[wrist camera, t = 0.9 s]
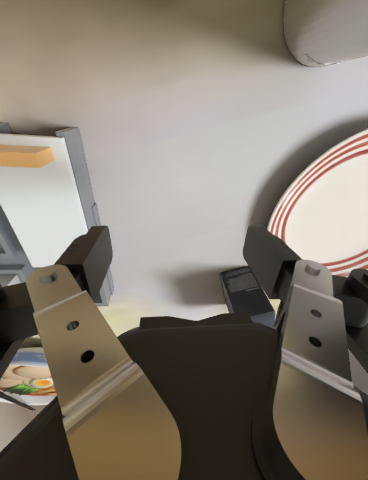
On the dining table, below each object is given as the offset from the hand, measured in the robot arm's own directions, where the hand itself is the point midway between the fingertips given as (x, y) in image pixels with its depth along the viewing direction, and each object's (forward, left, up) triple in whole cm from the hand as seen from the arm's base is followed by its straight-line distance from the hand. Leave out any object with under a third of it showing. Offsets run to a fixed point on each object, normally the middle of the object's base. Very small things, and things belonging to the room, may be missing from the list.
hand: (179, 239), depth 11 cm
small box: (+24, +15, -18) cm, 33 cm away
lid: (+5, -15, -13) cm, 20 cm away
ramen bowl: (+48, -30, -18) cm, 59 cm away
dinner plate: (+7, +29, -18) cm, 34 cm away
